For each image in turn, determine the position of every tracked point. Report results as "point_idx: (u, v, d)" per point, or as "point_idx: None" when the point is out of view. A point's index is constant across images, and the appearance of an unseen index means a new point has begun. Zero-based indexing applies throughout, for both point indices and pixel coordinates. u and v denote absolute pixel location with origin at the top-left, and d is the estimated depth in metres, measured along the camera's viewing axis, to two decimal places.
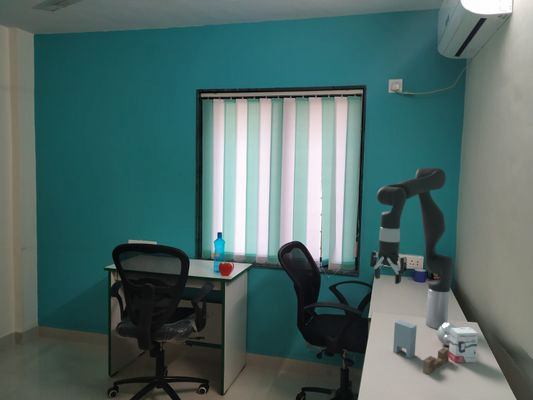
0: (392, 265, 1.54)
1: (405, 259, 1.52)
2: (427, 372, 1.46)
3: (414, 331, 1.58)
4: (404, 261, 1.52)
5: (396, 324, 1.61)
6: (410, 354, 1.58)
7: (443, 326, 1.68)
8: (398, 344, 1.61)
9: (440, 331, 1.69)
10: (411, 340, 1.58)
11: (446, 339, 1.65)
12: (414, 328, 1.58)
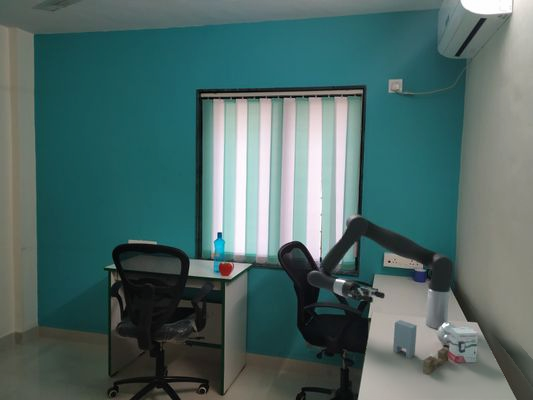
0: None
1: (349, 294, 1.72)
2: (427, 372, 1.46)
3: (414, 331, 1.58)
4: (350, 296, 1.71)
5: (396, 324, 1.61)
6: (410, 354, 1.58)
7: (443, 326, 1.68)
8: (398, 344, 1.61)
9: (440, 331, 1.69)
10: (411, 340, 1.58)
11: (446, 339, 1.65)
12: (414, 328, 1.58)
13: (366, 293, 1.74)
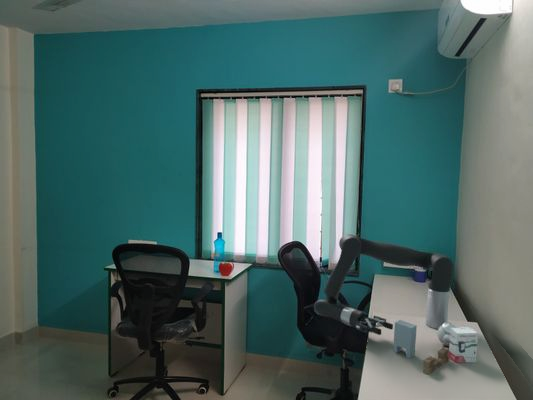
0: None
1: (357, 325, 1.69)
2: (427, 372, 1.46)
3: (414, 331, 1.58)
4: (358, 327, 1.69)
5: (396, 324, 1.61)
6: (410, 354, 1.58)
7: (443, 326, 1.68)
8: (398, 344, 1.61)
9: (440, 331, 1.69)
10: (411, 340, 1.58)
11: (446, 339, 1.65)
12: (414, 328, 1.58)
13: (374, 324, 1.72)
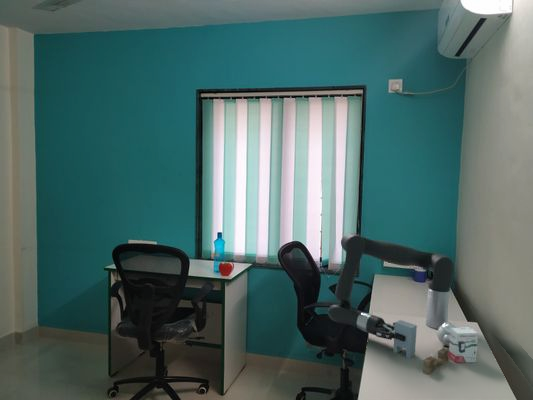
0: None
1: (378, 333, 1.62)
2: (427, 372, 1.46)
3: (414, 331, 1.58)
4: (379, 335, 1.62)
5: (396, 324, 1.61)
6: (410, 354, 1.58)
7: (443, 326, 1.68)
8: (398, 344, 1.61)
9: (440, 331, 1.69)
10: (411, 340, 1.58)
11: (446, 339, 1.65)
12: (414, 328, 1.58)
13: None
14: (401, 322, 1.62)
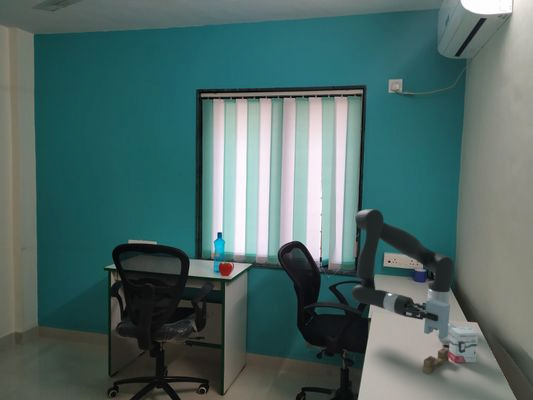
0: None
1: (408, 312, 1.52)
2: (427, 372, 1.46)
3: (447, 310, 1.48)
4: (409, 314, 1.52)
5: (428, 303, 1.51)
6: (443, 335, 1.48)
7: None
8: (430, 324, 1.51)
9: None
10: (445, 320, 1.47)
11: (446, 339, 1.65)
12: (447, 307, 1.48)
13: None
14: (433, 301, 1.52)
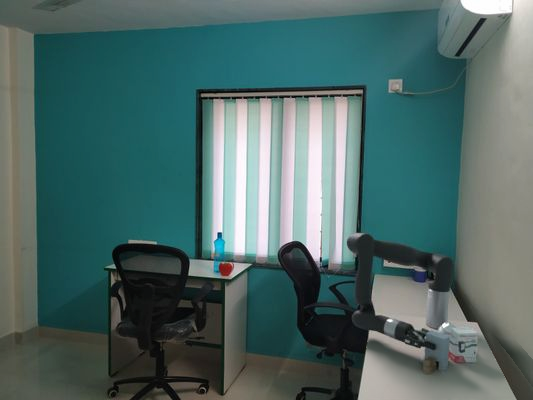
0: None
1: (406, 340, 1.53)
2: (427, 372, 1.46)
3: (447, 342, 1.49)
4: (408, 342, 1.53)
5: (427, 335, 1.52)
6: (443, 367, 1.48)
7: (443, 326, 1.68)
8: None
9: (440, 331, 1.69)
10: (445, 352, 1.48)
11: None
12: (447, 339, 1.49)
13: (422, 338, 1.56)
14: (432, 333, 1.52)
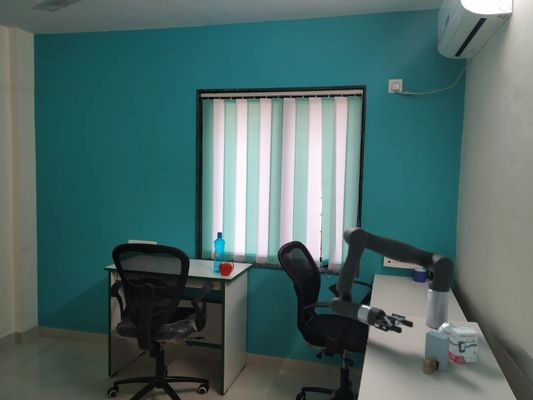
0: None
1: (375, 323, 1.63)
2: (427, 372, 1.46)
3: (447, 342, 1.49)
4: (377, 326, 1.62)
5: (427, 335, 1.52)
6: (443, 367, 1.48)
7: (443, 326, 1.68)
8: None
9: (440, 331, 1.69)
10: (445, 352, 1.48)
11: None
12: (447, 339, 1.49)
13: (393, 322, 1.65)
14: (432, 333, 1.52)
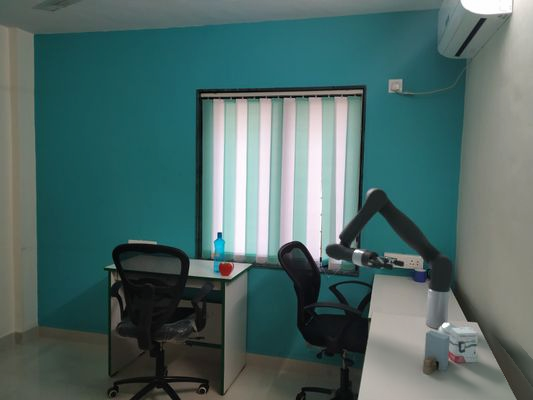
0: None
1: (368, 262, 1.73)
2: (427, 372, 1.46)
3: (447, 342, 1.49)
4: (370, 264, 1.73)
5: (427, 335, 1.52)
6: (443, 367, 1.48)
7: (443, 326, 1.68)
8: None
9: (440, 331, 1.69)
10: (445, 352, 1.48)
11: None
12: (447, 339, 1.49)
13: (385, 262, 1.76)
14: (432, 333, 1.52)
